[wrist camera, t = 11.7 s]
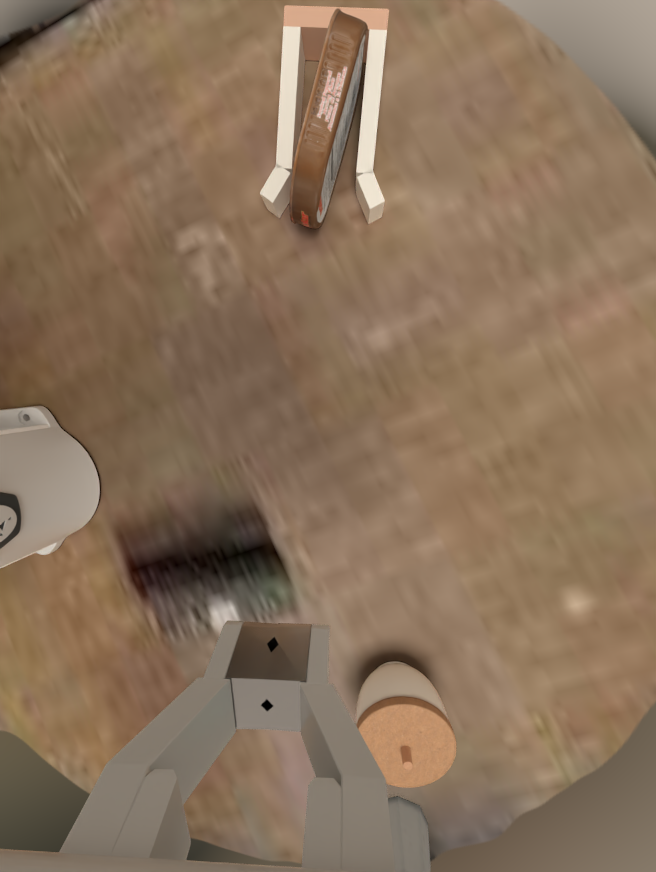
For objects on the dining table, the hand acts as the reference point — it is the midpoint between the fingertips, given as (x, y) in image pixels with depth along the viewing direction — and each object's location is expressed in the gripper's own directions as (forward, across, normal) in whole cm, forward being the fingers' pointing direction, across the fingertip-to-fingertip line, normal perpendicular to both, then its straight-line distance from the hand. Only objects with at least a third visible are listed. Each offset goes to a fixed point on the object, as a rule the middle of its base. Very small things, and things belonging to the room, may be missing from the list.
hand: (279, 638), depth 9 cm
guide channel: (+33, 0, -27) cm, 43 cm away
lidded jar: (+23, -10, +35) cm, 43 cm away
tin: (+33, 0, -24) cm, 41 cm away
